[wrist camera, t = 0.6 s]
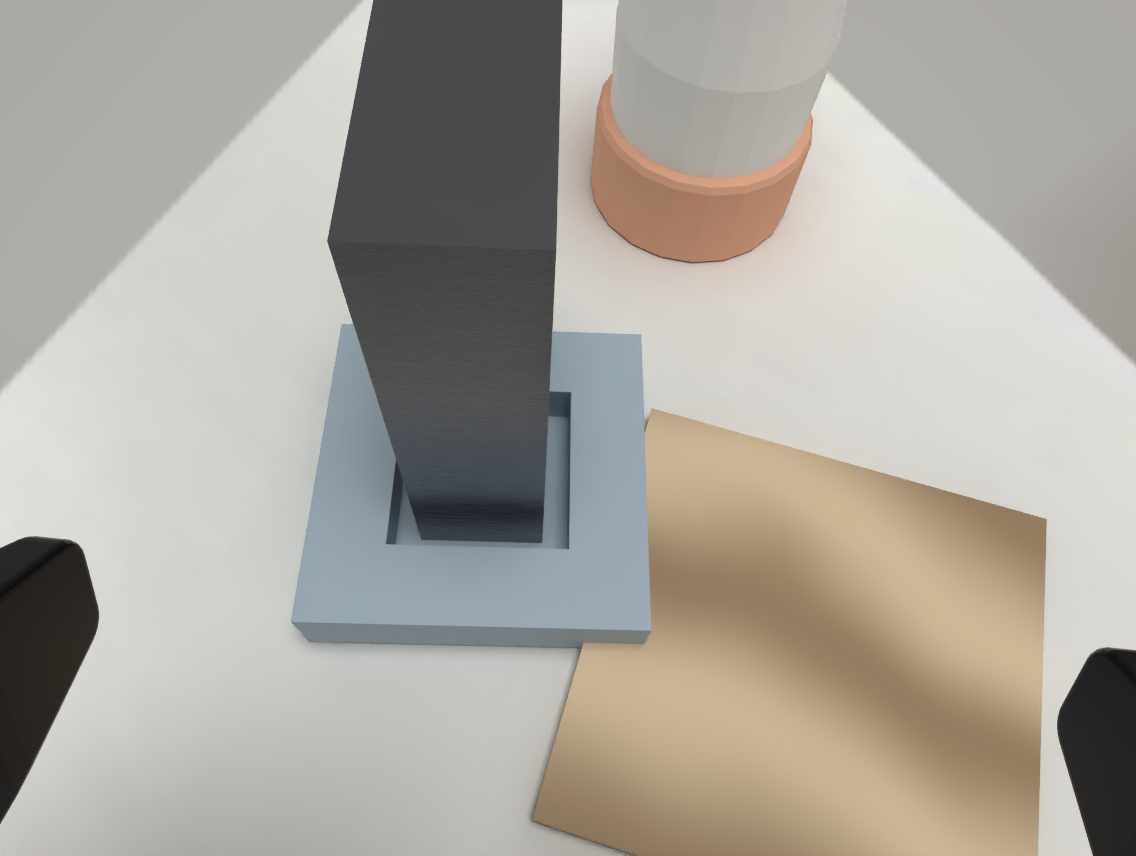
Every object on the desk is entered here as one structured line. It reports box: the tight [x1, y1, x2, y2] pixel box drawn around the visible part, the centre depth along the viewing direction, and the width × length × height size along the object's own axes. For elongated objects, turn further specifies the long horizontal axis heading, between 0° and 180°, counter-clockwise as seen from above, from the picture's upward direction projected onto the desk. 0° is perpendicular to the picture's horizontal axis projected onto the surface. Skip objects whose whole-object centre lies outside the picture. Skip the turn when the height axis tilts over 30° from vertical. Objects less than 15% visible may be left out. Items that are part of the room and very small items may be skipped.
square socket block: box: [291, 324, 651, 648], centre depth 24 cm, size 9×9×2 cm
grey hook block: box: [327, 0, 562, 543], centre depth 19 cm, size 6×3×13 cm, turn 179°
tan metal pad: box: [532, 409, 1047, 856], centre depth 23 cm, size 12×12×1 cm
